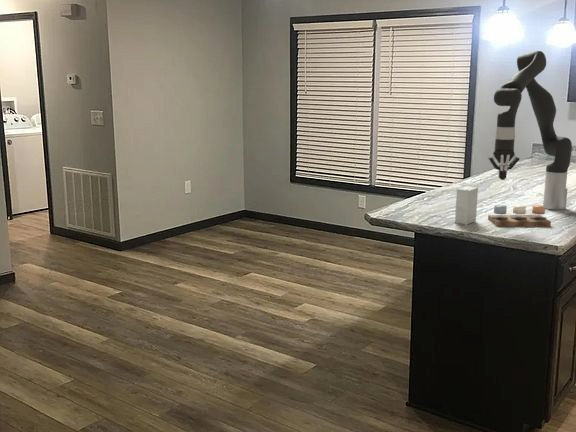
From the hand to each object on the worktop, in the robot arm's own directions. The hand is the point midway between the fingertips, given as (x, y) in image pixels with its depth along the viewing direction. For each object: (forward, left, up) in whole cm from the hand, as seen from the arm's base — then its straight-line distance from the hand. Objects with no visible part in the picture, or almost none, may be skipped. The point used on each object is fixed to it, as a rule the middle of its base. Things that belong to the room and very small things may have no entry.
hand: (502, 179), depth 273 cm
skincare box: (+14, -1, -19) cm, 23 cm away
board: (-8, 0, -18) cm, 20 cm away
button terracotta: (-16, 0, -14) cm, 21 cm away
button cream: (-8, 0, -14) cm, 16 cm away
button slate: (0, 0, -14) cm, 14 cm away
